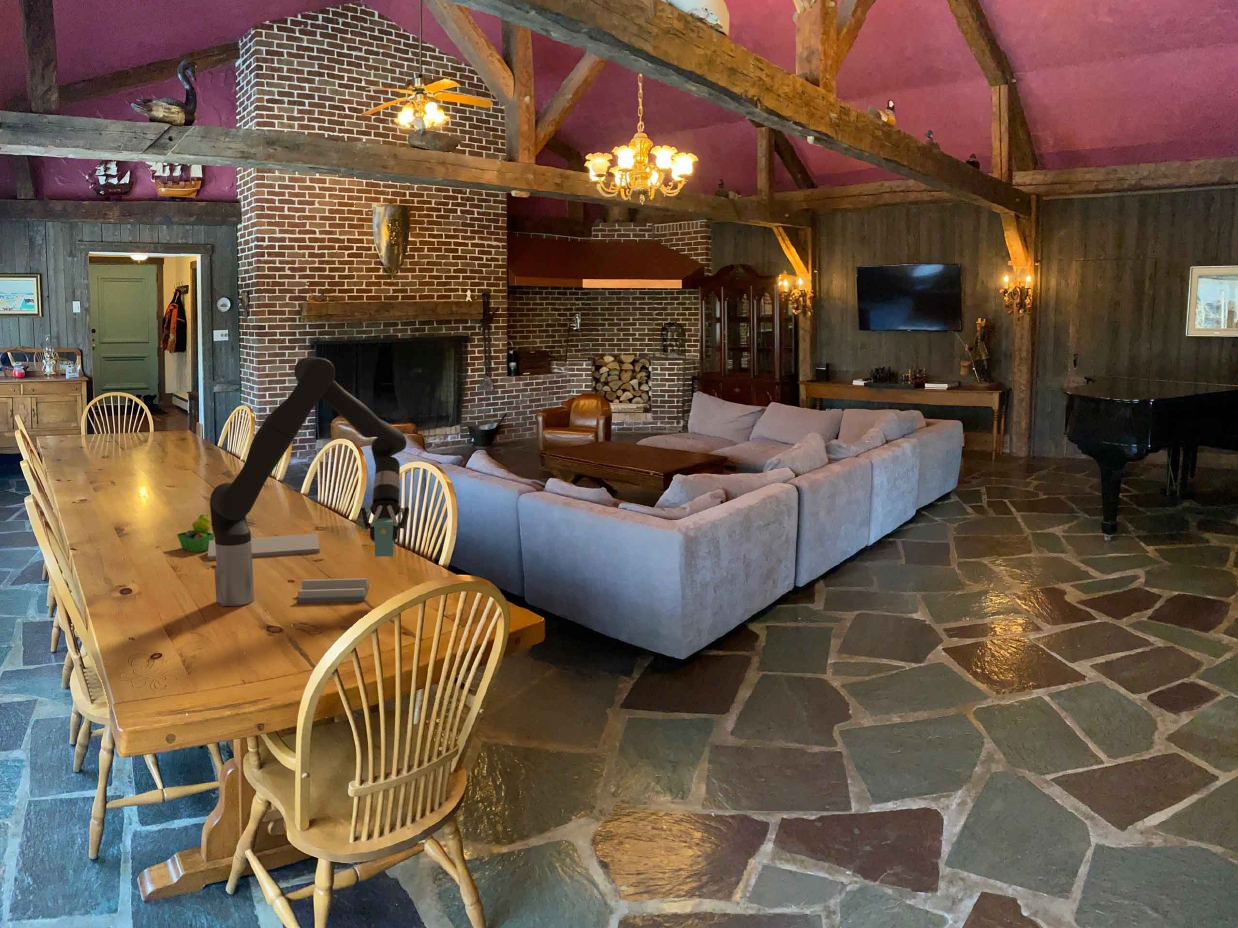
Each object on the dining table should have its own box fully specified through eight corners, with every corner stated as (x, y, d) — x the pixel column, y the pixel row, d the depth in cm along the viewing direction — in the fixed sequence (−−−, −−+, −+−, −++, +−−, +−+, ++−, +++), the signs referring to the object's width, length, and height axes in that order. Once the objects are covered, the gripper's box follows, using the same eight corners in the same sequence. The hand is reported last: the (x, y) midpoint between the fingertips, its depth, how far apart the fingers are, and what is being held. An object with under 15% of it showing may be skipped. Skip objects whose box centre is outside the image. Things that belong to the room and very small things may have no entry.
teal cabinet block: (374, 557, 265) (373, 523, 263) (376, 552, 270) (375, 518, 268) (392, 557, 266) (392, 522, 264) (394, 551, 271) (393, 518, 269)
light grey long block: (319, 560, 314) (318, 545, 323) (319, 548, 312) (317, 533, 321) (208, 568, 303) (210, 552, 311) (207, 556, 301) (209, 540, 309)
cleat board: (297, 603, 262) (297, 589, 261) (305, 589, 275) (304, 575, 274) (364, 601, 265) (363, 587, 264) (368, 587, 278) (368, 574, 277)
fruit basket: (176, 548, 315) (174, 515, 313) (200, 543, 322) (199, 511, 320) (195, 554, 308) (193, 520, 306) (220, 548, 315) (218, 516, 313)
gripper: (360, 482, 271) (356, 533, 262) (410, 482, 273) (409, 533, 264) (362, 497, 277) (358, 547, 268) (412, 496, 280) (410, 546, 270)
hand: (383, 539), depth 266 cm, fingers closed on teal cabinet block, 5 cm apart
